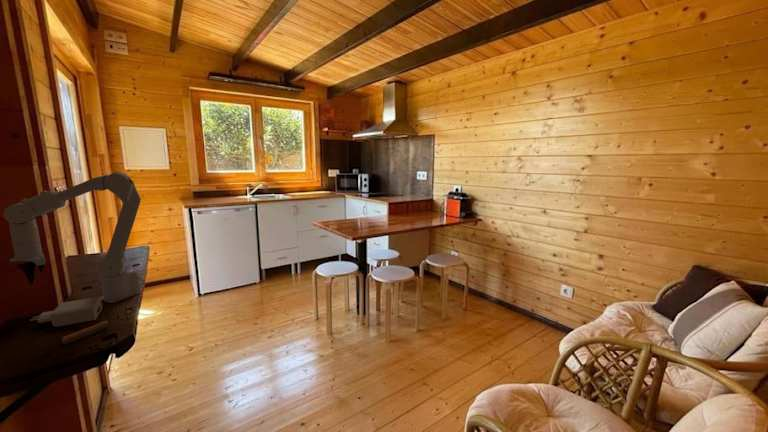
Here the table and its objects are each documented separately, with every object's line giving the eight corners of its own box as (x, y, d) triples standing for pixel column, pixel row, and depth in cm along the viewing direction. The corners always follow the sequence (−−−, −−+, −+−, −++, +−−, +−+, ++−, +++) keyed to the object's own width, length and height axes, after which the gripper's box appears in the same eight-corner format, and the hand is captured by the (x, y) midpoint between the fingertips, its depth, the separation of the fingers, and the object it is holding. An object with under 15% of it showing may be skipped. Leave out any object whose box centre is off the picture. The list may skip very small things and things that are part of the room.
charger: (39, 319, 98) (103, 308, 106) (25, 334, 90) (95, 321, 98) (36, 305, 97) (100, 295, 105) (22, 318, 89) (93, 307, 97)
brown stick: (107, 326, 95) (106, 320, 94) (109, 326, 94) (108, 321, 94) (62, 343, 86) (61, 337, 85) (65, 344, 85) (63, 338, 85)
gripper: (-3, 242, 98) (5, 283, 100) (18, 248, 92) (27, 292, 95) (29, 237, 104) (37, 276, 107) (51, 242, 98) (59, 284, 101)
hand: (34, 283), depth 101 cm, fingers closed
